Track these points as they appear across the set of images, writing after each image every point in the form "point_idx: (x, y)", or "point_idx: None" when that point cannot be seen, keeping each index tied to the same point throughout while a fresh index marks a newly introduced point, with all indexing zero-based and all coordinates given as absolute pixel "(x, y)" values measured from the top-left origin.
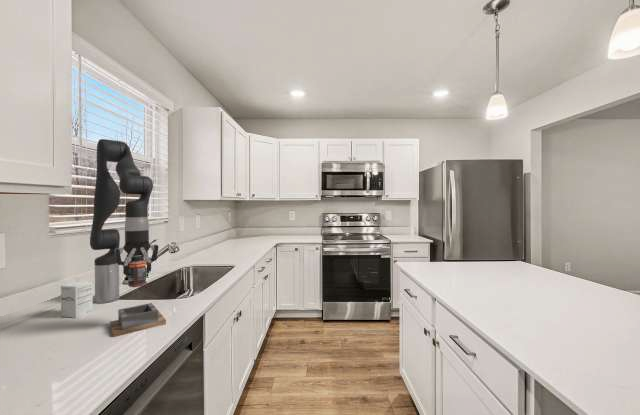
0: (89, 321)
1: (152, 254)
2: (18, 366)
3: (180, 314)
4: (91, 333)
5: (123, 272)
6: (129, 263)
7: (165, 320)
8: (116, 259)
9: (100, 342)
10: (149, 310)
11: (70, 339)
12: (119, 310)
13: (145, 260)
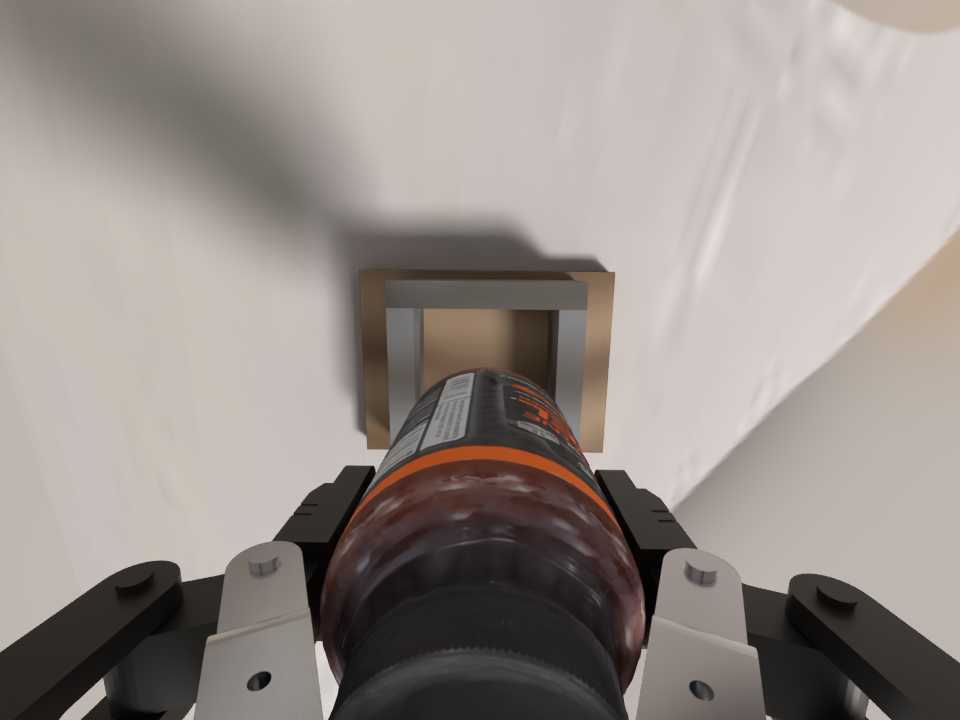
0: (268, 99)
1: (901, 701)
2: (79, 488)
3: (703, 356)
4: (286, 321)
5: (307, 505)
6: (335, 674)
7: (599, 452)
8: (16, 670)
9: (323, 463)
10: (553, 346)
11: (207, 335)
12: (389, 304)
13: (631, 670)
